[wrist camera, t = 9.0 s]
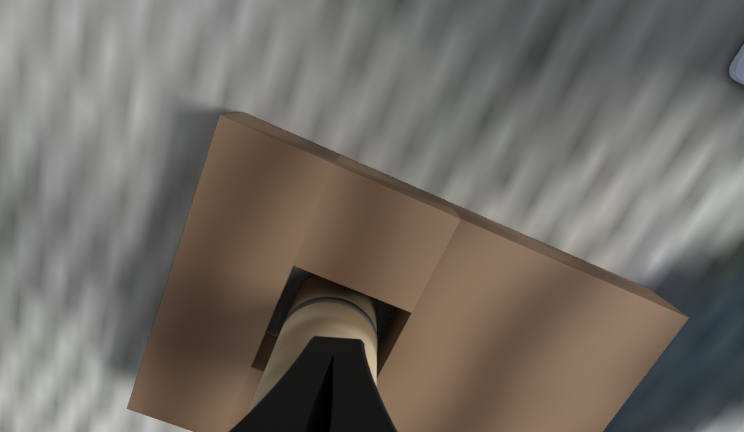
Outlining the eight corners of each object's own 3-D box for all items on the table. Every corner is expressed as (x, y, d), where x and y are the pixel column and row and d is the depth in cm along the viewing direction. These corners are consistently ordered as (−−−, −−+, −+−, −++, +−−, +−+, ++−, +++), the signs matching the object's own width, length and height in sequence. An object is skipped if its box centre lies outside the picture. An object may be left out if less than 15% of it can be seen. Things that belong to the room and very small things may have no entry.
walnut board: (649, 289, 19) (688, 317, 16) (502, 495, 23) (517, 542, 20) (242, 111, 17) (219, 115, 14) (156, 371, 21) (126, 408, 18)
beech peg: (377, 269, 19) (377, 391, 11) (377, 345, 20) (377, 501, 12) (290, 269, 19) (230, 390, 11) (295, 344, 20) (244, 500, 12)
